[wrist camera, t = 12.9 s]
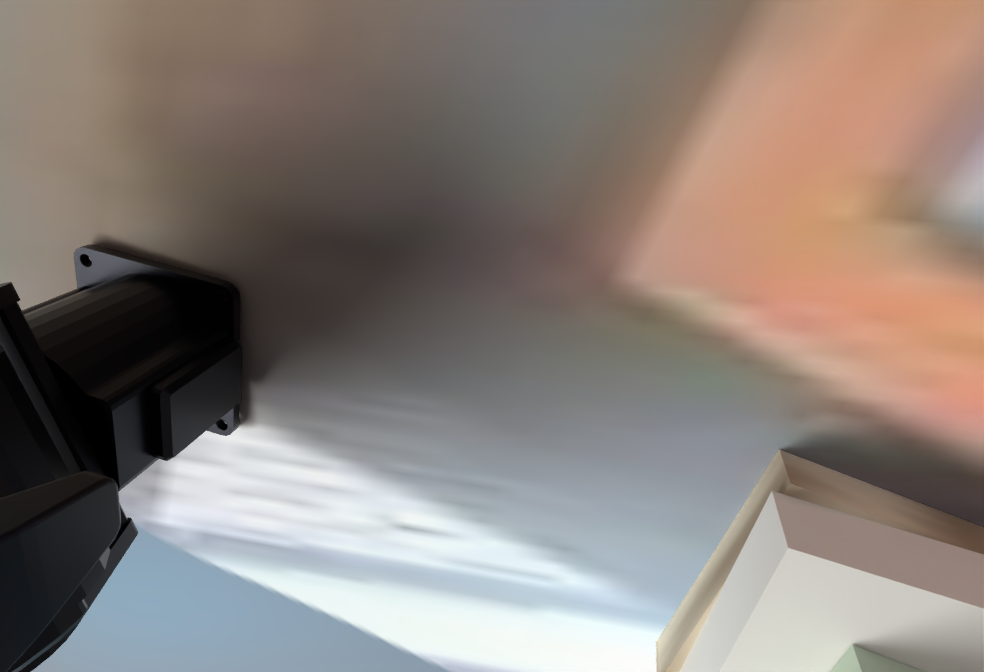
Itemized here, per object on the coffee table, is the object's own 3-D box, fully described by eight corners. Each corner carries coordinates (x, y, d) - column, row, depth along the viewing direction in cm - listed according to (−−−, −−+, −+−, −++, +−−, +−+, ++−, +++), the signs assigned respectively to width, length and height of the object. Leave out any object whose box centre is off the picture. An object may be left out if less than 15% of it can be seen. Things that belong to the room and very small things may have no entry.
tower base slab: (655, 629, 25) (656, 683, 23) (775, 438, 21) (790, 483, 19) (896, 727, 25) (921, 793, 22) (1073, 551, 20) (1126, 611, 18)
